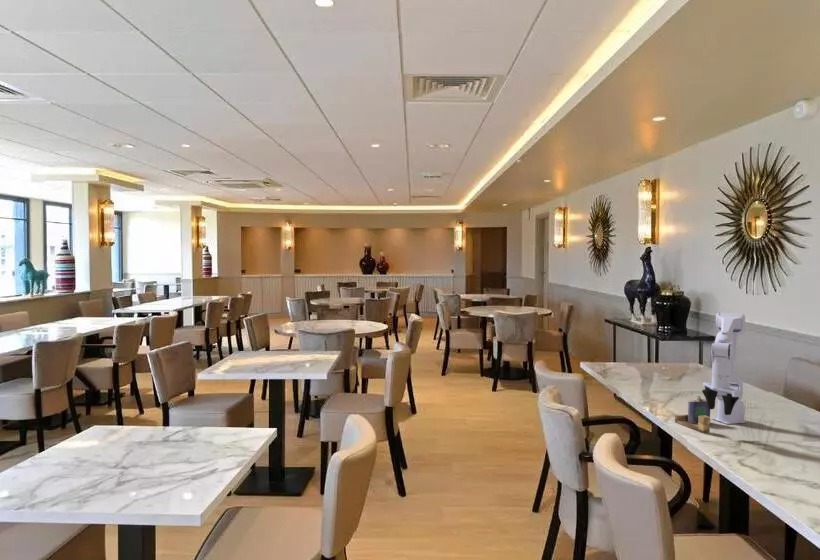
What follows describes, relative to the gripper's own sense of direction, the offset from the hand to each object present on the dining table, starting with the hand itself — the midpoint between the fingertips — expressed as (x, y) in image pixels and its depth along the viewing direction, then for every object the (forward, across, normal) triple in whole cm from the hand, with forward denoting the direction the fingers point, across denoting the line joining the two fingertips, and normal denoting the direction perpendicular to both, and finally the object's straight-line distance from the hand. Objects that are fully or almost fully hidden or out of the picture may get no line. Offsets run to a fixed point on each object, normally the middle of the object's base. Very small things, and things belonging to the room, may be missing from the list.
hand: (719, 411), depth 206 cm
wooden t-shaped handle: (+9, -12, +3) cm, 16 cm away
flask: (+10, -17, +7) cm, 21 cm away
